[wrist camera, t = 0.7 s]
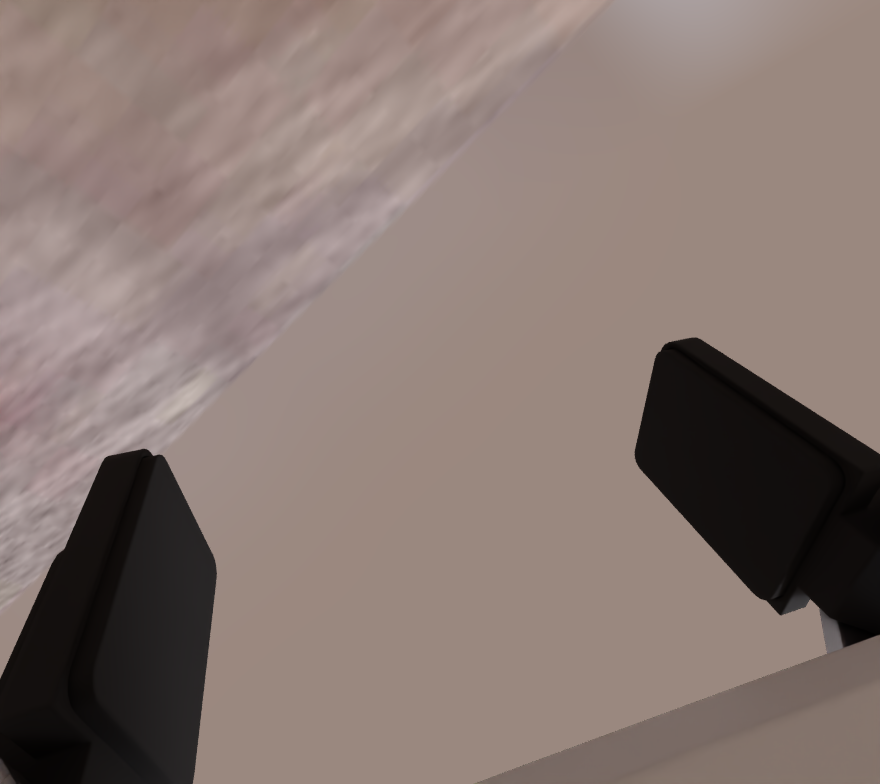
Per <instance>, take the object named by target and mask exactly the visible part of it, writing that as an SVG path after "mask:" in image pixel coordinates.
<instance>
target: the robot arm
mask: <svg viewBox="0 0 880 784" xmlns="http://www.w3.org/2000/svg"><path fill="white" fill-rule="evenodd" d="M635 459H636V463H637V465H638V466H639V468H640V469H641V470H642V471H643V473H644V474H645V475H646V476H647V477H648V478H649V479H650V480H651V481H652V482H653V483H654V485H655V486H656V487H657V488H658V489H659V490H660V491H661V492H662V493H663V495H664V496H665V497H666V498H667V499H668V500H669V501H670V502H671V503H672V504H673V506H674V507H675V508H676V509H677V510H678V511H679V512H680V513H681V514H682V515H683V517H684V518H685V519H686V520H687V521H688V522H689V523H690V524H691V525H692V526H693V528H694V529H695V530H696V531H697V532H698V533H699V534H700V535H701V536H702V538H704V540H705V541H706V542H707V543H708V544H709V545H710V546H711V547H712V548H713V550H714V551H715V552H716V553H717V554H718V555H719V556H720V557H721V558H722V560H723V561H724V562H725V563H726V564H727V565H728V566H729V567H730V568H731V569H732V570H733V572H734V573H735V574H736V575H737V576H738V577H739V578H740V579H741V580H742V582H743V583H744V584H745V585H746V586H747V587H748V588H749V589H750V590H751V591H752V592H753V593H754V594H755V595H756V596H757V597H759V598H760V599H763V600H766V601H767V602H768V603H769V604H770V605H771V606H772V607H773V608H774V609H775V610H776V611H777V613H778V614H779V615H783V614H786V613H789V612H792V611H795V610H798V609H801V608H804V607H806V605H807V603H808V602H809V600H810V599H811V600H812V601H813V602H814V603H815V604H816V605H817V606H818V607H819V608H820V616H821V621H822V627H823V633H824V638H825V644H826V649H827V654H825V655H823V656H820V657H817V658H815V659H812V660H809V661H806V662H804V663H801V664H798V665H795V666H792V667H790V668H787V669H784V670H781V671H779V672H776V673H773V674H770V675H767V676H765V677H762V678H759V679H757V680H754V681H751V682H748V683H745V684H743V685H740V686H737V687H734V688H732V689H729V690H726V691H724V692H721V693H718V694H715V695H713V696H710V697H707V698H705V699H702V700H699V701H696V702H694V703H691V704H688V705H685V706H683V707H680V708H677V709H675V710H672V711H670V712H666V713H664V714H661V715H658V716H656V717H653V718H650V719H647V720H645V721H642V722H640V723H637V724H634V725H631V726H629V727H626V728H623V729H621V730H618V731H615V732H612V733H610V734H607V735H604V736H601V737H599V738H596V739H593V740H590V741H588V742H585V743H582V744H580V745H577V746H574V747H572V748H569V749H566V750H563V751H561V752H558V753H555V754H553V755H550V756H547V757H544V758H542V759H539V760H536V761H534V762H531V763H528V764H526V765H523V766H520V767H518V768H515V769H512V770H510V771H507V772H504V773H502V774H499V775H496V776H494V777H491V778H488V779H486V780H483V781H480V782H478V783H475V784H880V454H879V453H877V452H876V451H874V450H873V449H871V448H869V447H868V446H866V445H865V444H863V443H862V442H860V441H858V440H857V439H856V438H854V437H852V436H851V435H849V434H848V433H846V432H845V431H843V430H841V429H840V428H838V427H837V426H835V425H834V424H832V423H831V422H829V421H827V420H826V419H824V418H823V417H821V416H819V415H818V414H816V413H815V412H813V411H812V410H810V409H808V408H807V407H805V406H804V405H802V404H801V403H799V402H798V401H796V400H795V399H793V398H791V397H790V396H788V395H787V394H785V393H783V392H782V391H781V390H779V389H777V388H776V387H774V386H773V385H771V384H770V383H768V382H766V381H765V380H763V379H762V378H760V377H759V376H757V375H756V374H754V373H752V372H751V371H749V370H748V369H746V368H745V367H743V366H741V365H740V364H738V363H737V362H735V361H734V360H732V359H731V358H729V357H727V356H726V355H724V354H723V353H721V352H720V351H718V350H717V349H715V348H713V347H712V346H710V345H709V344H707V343H706V342H704V341H702V340H701V339H698V338H688V339H683V340H678V341H673V342H669V343H667V344H665V345H664V346H663V348H662V350H661V352H659V353H658V354H657V355H656V358H655V361H654V366H653V371H652V375H651V380H650V384H649V389H648V393H647V398H646V403H645V407H644V412H643V416H642V421H641V425H640V430H639V435H638V439H637V443H636V448H635ZM216 575H217V572H216V563H215V559H214V557H213V554H212V552H211V550H210V548H209V546H208V544H207V542H206V540H205V538H204V536H203V534H202V532H201V530H200V528H199V526H198V524H197V522H196V520H195V518H194V516H193V514H192V512H191V509H190V507H189V505H188V503H187V501H186V499H185V497H184V495H183V493H182V491H181V489H180V487H179V485H178V483H177V481H176V479H175V477H174V475H173V473H172V471H171V469H170V467H169V465H168V463H167V461H166V459H165V458H164V457H163V456H162V455H155V456H153V455H152V454H151V452H150V451H148V450H147V449H141V450H136V451H131V452H126V453H121V454H116V455H111V456H108V457H106V458H105V459H104V460H103V462H102V464H101V466H100V469H99V471H98V473H97V475H96V478H95V480H94V482H93V485H92V487H91V489H90V491H89V494H88V496H87V498H86V501H85V503H84V505H83V508H82V510H81V512H80V514H79V517H78V519H77V521H76V524H75V526H74V528H73V531H72V533H71V535H70V537H69V540H68V542H67V544H66V547H65V549H64V550H63V551H61V552H60V553H59V554H58V555H57V556H56V558H55V559H54V561H53V563H52V565H51V567H50V569H49V571H48V574H47V576H46V578H45V580H44V582H43V585H42V587H41V590H40V592H39V594H38V596H37V598H36V600H35V603H34V605H33V607H32V609H31V612H30V614H29V616H28V618H27V620H26V623H25V625H24V627H23V629H22V632H21V634H20V636H19V638H18V641H17V643H16V645H15V647H14V650H13V652H12V654H11V656H10V658H9V661H8V663H7V665H6V668H5V670H4V672H3V674H2V676H1V678H0V784H193V778H194V772H195V763H196V753H197V745H198V736H199V728H200V719H201V710H202V701H203V692H204V683H205V674H206V666H207V657H208V648H209V640H210V630H211V622H212V613H213V604H214V595H215V587H216Z"/></svg>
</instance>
